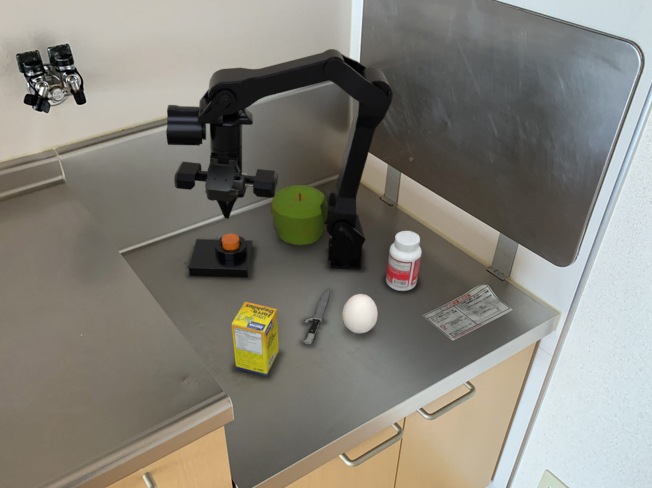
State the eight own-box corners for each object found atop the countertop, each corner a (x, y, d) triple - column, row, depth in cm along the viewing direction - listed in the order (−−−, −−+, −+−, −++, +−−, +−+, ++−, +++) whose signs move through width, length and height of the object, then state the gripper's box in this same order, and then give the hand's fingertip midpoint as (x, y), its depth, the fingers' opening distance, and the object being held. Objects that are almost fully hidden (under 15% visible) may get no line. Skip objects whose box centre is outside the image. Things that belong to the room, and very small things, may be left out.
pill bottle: (407, 270, 126) (414, 225, 119) (422, 288, 122) (430, 243, 115) (380, 276, 125) (385, 232, 117) (394, 295, 120) (400, 250, 113)
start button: (240, 240, 128) (240, 233, 127) (238, 251, 125) (238, 244, 124) (223, 240, 128) (222, 233, 127) (221, 250, 126) (220, 243, 124)
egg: (340, 317, 116) (342, 285, 110) (374, 317, 115) (378, 285, 110) (341, 341, 111) (344, 308, 106) (377, 341, 111) (381, 309, 105)
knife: (297, 343, 110) (313, 345, 110) (297, 340, 110) (313, 342, 109) (317, 289, 122) (332, 291, 121) (317, 286, 121) (332, 288, 120)
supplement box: (279, 353, 109) (278, 308, 101) (267, 377, 104) (265, 331, 97) (248, 345, 110) (244, 300, 103) (235, 369, 106) (230, 323, 99)
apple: (335, 247, 132) (337, 203, 125) (281, 257, 130) (280, 212, 122) (316, 216, 141) (318, 173, 134) (265, 225, 139) (264, 181, 131)
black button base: (252, 248, 132) (251, 233, 129) (248, 277, 125) (247, 262, 122) (197, 247, 133) (195, 232, 130) (189, 276, 125) (187, 260, 122)
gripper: (163, 160, 104) (170, 236, 114) (272, 171, 103) (269, 246, 113) (179, 131, 112) (184, 204, 123) (279, 141, 112) (276, 213, 122)
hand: (227, 217), depth 120 cm, fingers closed
